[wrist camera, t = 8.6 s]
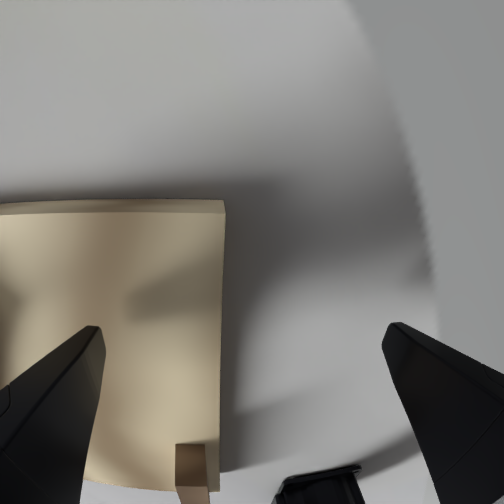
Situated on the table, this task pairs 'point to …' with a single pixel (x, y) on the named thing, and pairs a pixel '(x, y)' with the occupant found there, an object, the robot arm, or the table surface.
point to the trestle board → (126, 326)
